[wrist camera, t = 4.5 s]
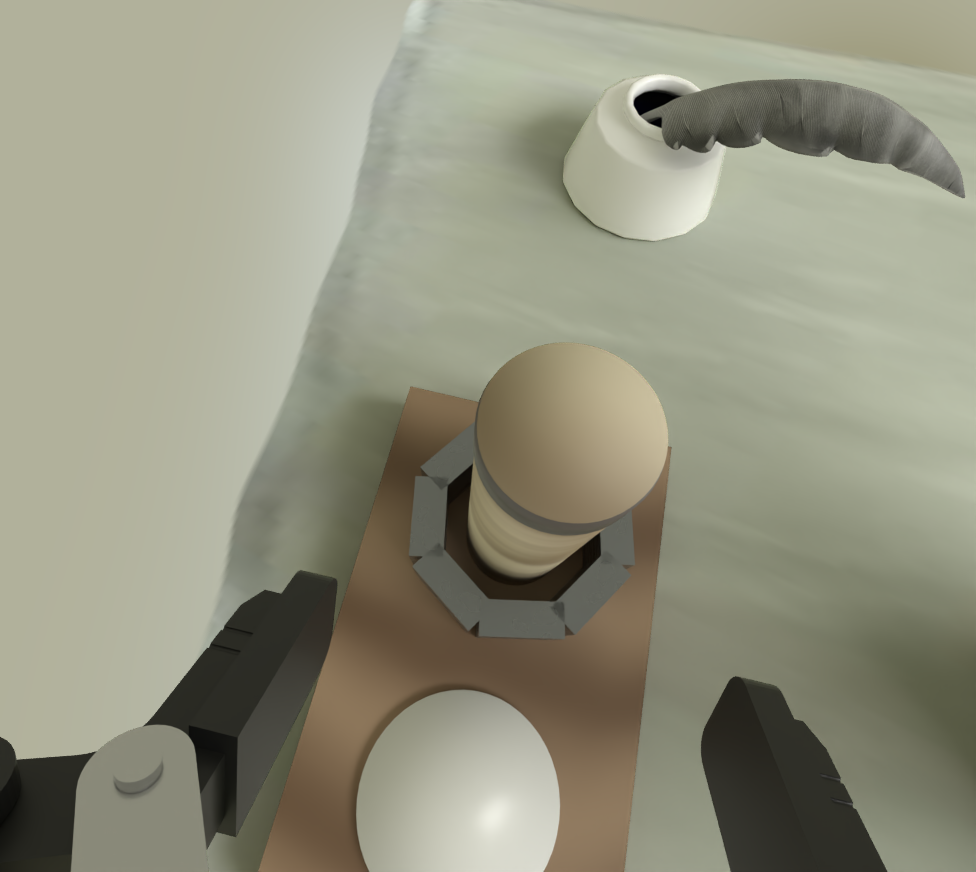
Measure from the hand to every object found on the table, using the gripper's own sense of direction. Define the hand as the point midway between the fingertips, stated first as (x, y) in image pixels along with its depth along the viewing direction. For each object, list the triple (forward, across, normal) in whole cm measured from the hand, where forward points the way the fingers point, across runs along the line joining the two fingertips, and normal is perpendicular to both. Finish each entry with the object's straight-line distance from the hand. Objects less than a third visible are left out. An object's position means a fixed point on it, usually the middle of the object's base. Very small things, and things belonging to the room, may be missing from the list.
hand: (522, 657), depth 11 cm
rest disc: (+4, 0, +11) cm, 12 cm away
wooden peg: (+11, 0, +4) cm, 12 cm away
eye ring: (+11, 0, +4) cm, 12 cm away
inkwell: (+27, -7, -9) cm, 29 cm away
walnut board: (+9, 0, +9) cm, 13 cm away
